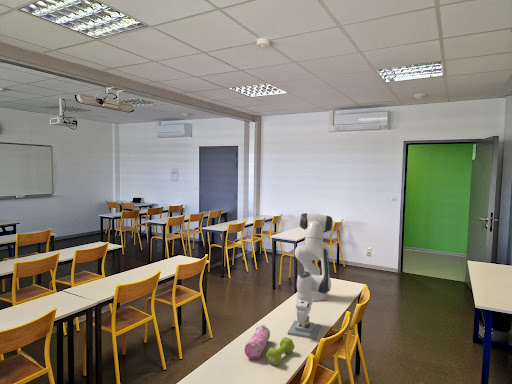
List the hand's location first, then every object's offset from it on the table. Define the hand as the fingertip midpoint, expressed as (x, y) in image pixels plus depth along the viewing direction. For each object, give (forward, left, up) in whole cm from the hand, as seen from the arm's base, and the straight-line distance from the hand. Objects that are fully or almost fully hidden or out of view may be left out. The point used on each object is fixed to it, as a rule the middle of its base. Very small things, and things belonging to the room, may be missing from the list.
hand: (304, 323), depth 189 cm
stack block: (0, 0, -2) cm, 2 cm away
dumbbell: (+32, -5, -4) cm, 32 cm away
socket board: (0, 0, -4) cm, 4 cm away
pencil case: (+28, -18, -4) cm, 34 cm away
